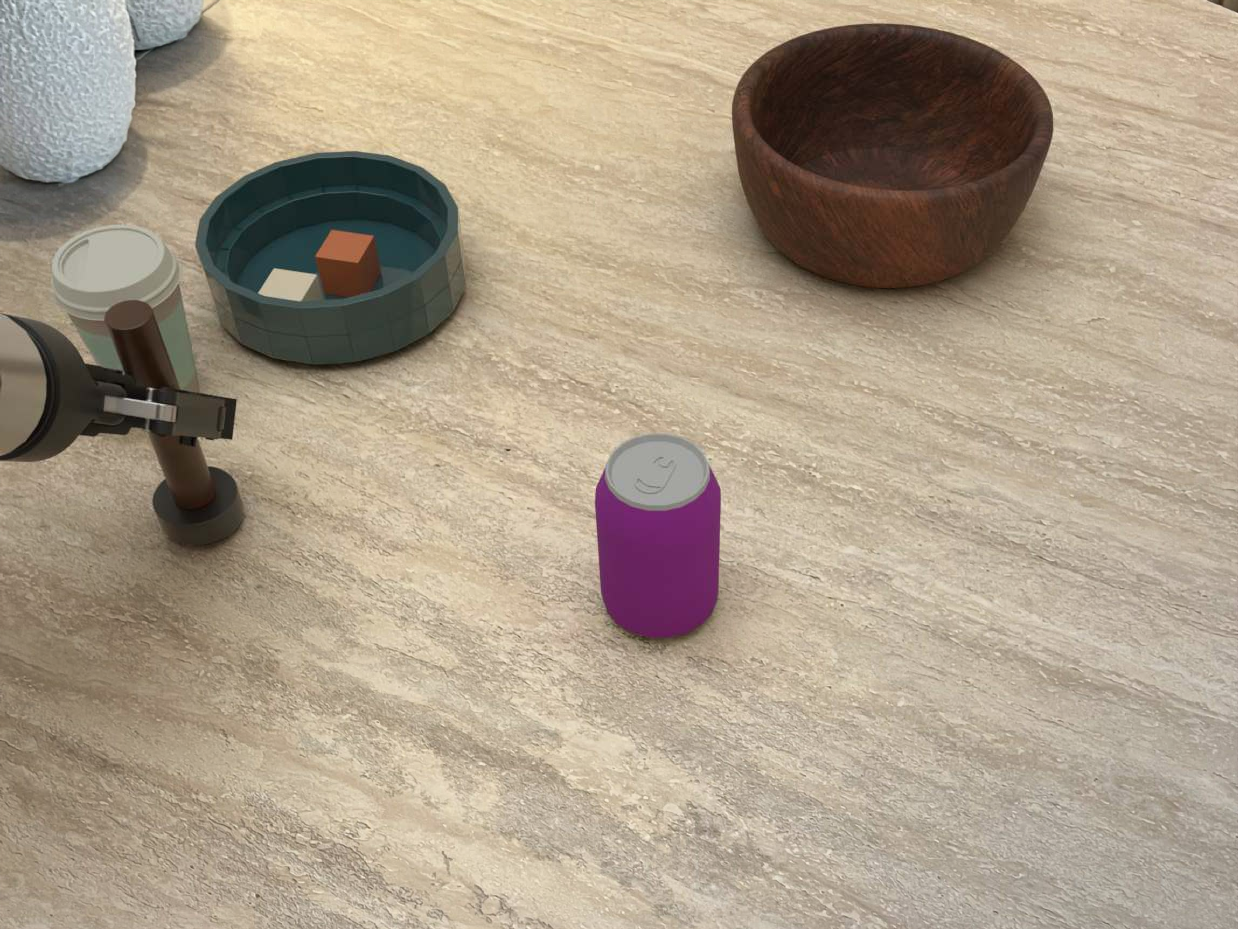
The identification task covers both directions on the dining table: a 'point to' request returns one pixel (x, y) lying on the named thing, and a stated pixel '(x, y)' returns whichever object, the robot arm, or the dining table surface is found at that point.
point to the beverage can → (658, 535)
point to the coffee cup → (123, 291)
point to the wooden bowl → (888, 150)
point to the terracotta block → (348, 264)
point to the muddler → (174, 439)
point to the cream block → (292, 286)
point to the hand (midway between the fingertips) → (204, 414)
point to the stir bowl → (293, 234)
